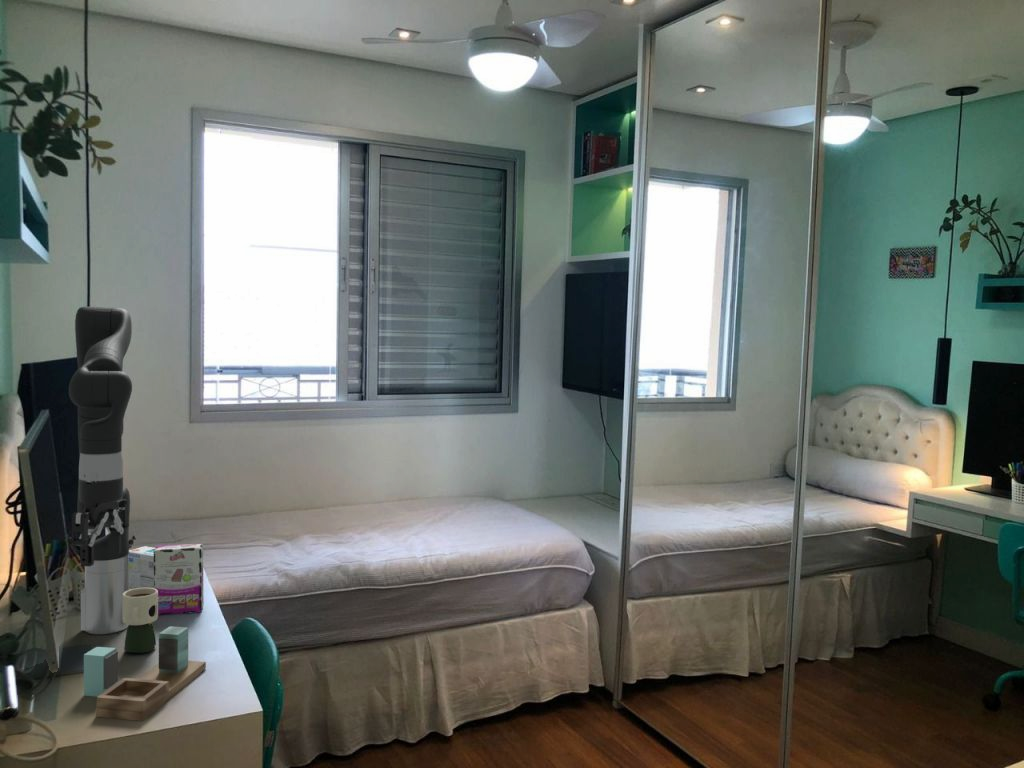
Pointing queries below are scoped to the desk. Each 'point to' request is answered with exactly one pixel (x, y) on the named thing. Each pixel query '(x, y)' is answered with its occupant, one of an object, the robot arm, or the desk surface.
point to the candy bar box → (179, 578)
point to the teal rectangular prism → (100, 670)
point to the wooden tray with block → (152, 680)
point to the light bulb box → (141, 568)
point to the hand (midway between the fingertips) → (101, 559)
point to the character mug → (140, 618)
